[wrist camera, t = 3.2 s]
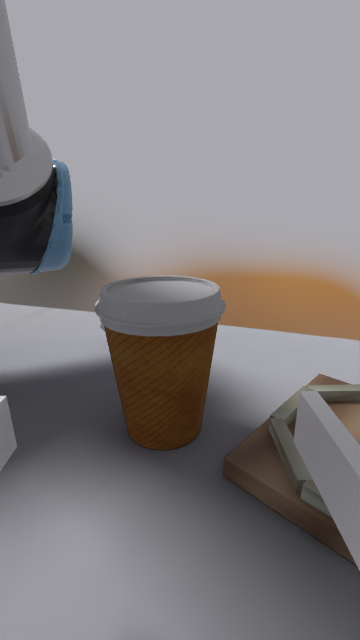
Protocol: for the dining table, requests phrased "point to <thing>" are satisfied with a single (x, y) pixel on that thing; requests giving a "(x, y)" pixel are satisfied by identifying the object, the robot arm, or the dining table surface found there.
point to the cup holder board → (294, 462)
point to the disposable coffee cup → (161, 353)
